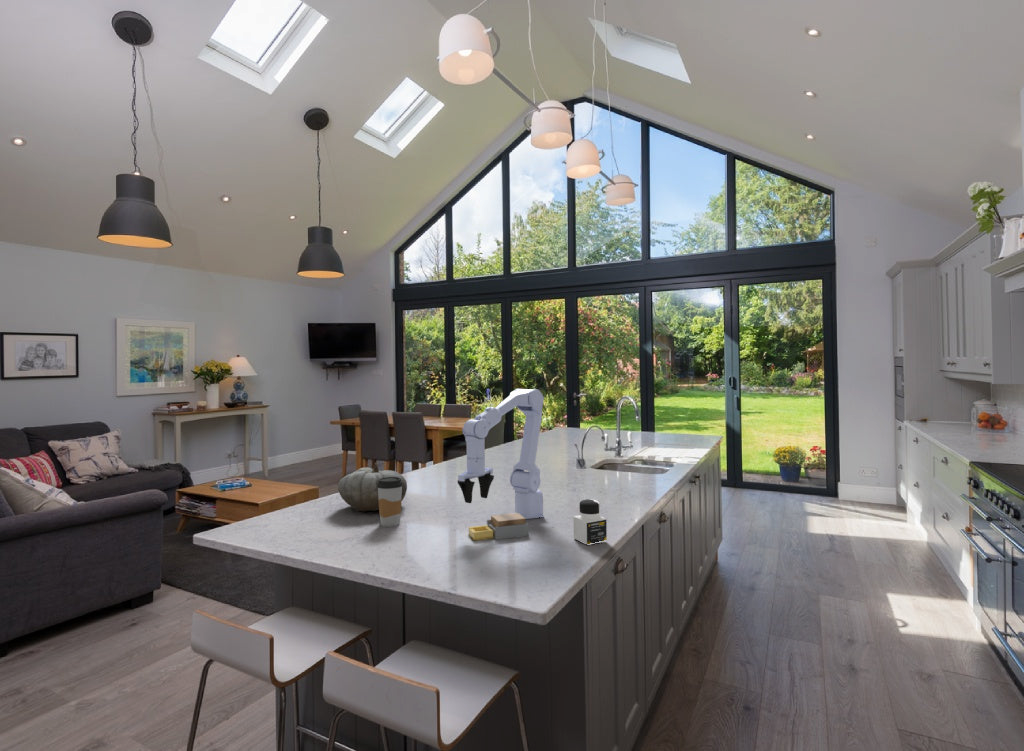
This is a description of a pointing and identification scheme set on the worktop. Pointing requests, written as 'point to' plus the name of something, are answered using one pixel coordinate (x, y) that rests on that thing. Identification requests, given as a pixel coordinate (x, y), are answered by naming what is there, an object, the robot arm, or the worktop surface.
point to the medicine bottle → (590, 523)
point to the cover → (507, 519)
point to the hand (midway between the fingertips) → (476, 500)
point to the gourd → (365, 487)
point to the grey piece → (509, 530)
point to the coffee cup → (390, 500)
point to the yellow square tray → (480, 532)
